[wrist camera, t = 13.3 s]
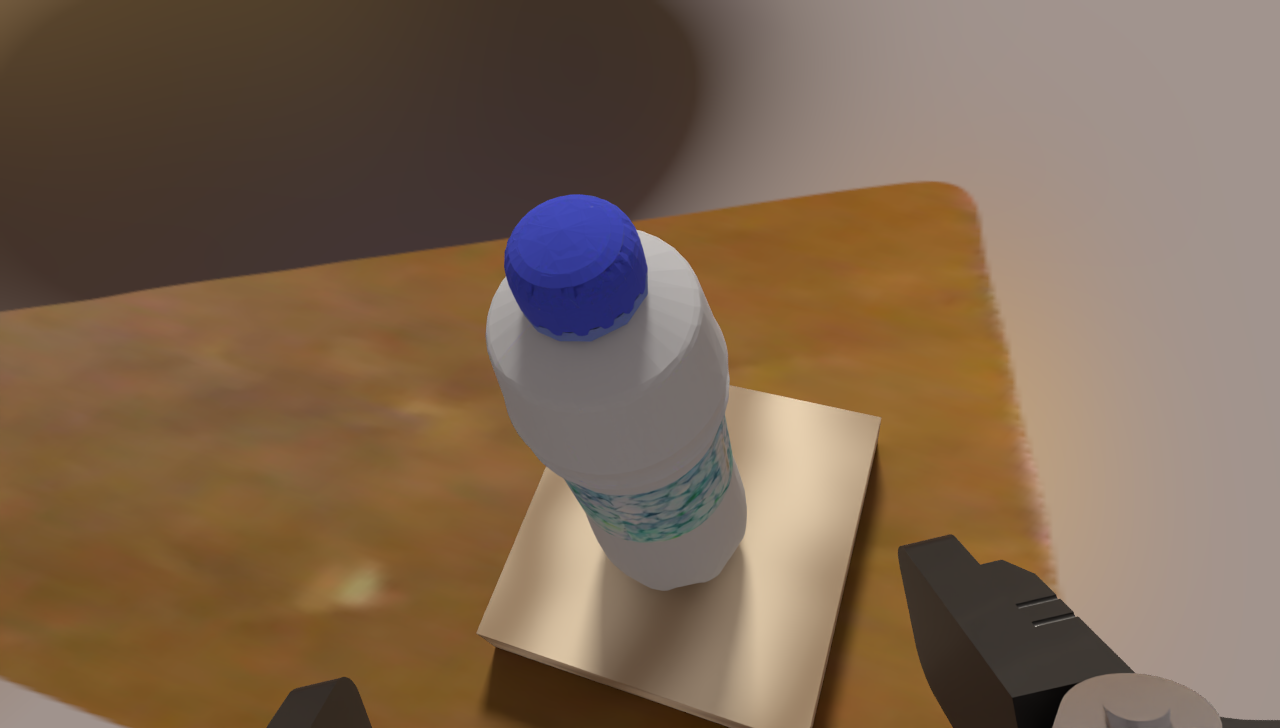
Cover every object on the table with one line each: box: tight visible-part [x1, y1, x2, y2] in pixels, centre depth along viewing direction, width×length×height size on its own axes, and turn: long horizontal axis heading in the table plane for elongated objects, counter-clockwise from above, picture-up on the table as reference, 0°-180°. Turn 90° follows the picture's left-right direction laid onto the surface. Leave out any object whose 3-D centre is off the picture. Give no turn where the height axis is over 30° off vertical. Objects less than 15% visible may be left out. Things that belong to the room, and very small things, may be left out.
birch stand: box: [477, 385, 881, 728], centre depth 37 cm, size 14×14×2 cm
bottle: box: [486, 195, 747, 591], centre depth 28 cm, size 7×7×20 cm
